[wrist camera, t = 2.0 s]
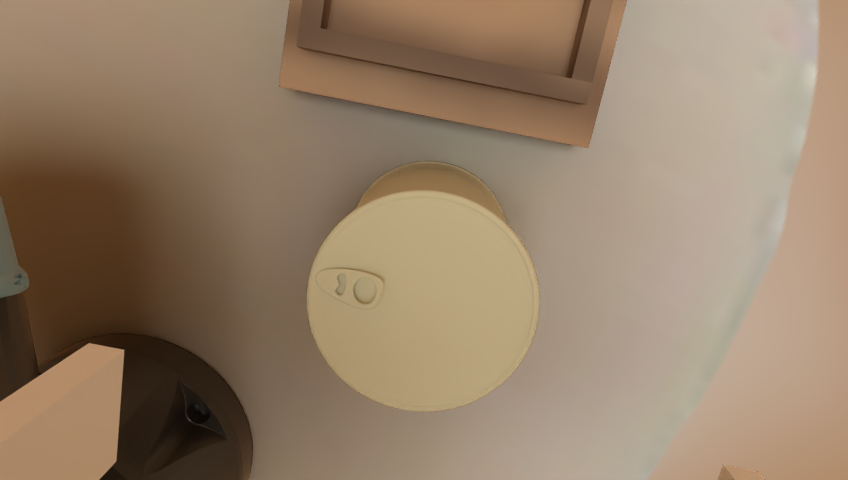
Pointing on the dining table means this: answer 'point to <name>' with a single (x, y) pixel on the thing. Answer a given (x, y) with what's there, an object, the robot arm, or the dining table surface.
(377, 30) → the stand
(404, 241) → the can
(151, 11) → the dining table surface
